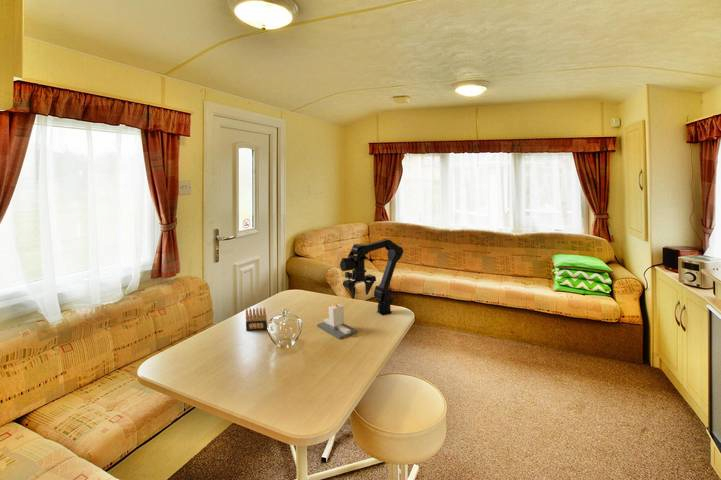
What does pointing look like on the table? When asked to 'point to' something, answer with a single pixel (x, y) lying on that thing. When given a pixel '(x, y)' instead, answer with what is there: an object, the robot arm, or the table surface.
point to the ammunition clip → (256, 320)
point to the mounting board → (337, 329)
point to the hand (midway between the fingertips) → (360, 296)
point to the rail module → (336, 316)
